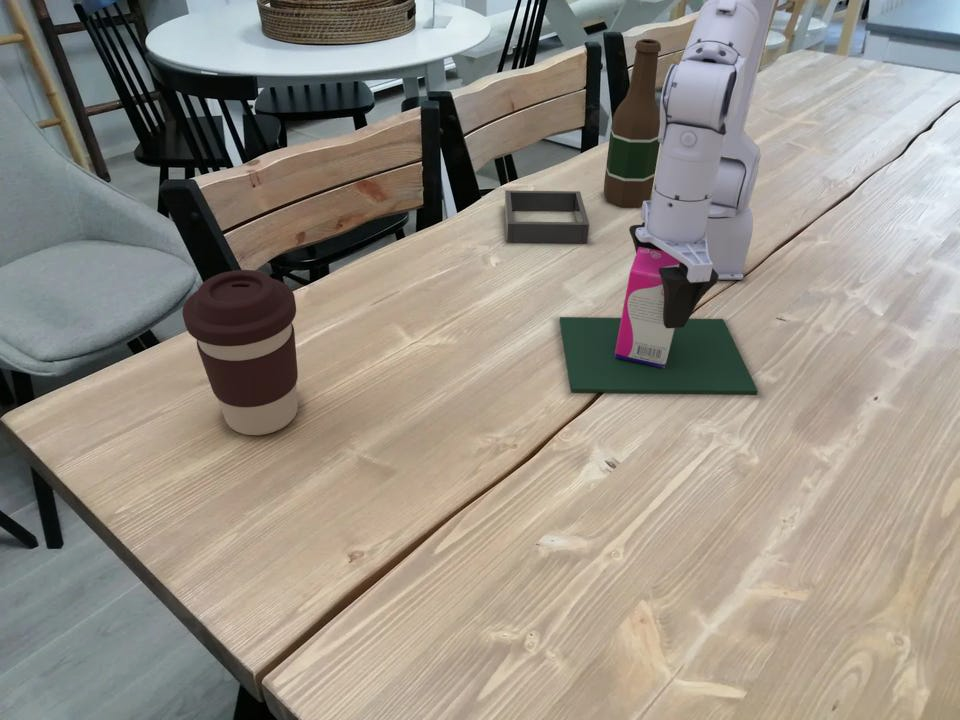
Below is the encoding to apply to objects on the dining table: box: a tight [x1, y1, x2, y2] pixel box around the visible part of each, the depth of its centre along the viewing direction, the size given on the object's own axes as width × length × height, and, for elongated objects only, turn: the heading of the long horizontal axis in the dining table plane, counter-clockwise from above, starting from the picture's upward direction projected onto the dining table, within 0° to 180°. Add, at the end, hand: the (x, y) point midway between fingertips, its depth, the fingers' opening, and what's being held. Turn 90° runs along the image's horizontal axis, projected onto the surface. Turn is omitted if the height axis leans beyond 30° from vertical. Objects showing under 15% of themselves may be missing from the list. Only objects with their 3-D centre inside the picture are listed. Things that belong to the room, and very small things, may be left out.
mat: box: [559, 316, 759, 395], centre depth 85 cm, size 20×14×1 cm
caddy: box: [504, 189, 590, 244], centre depth 110 cm, size 12×12×3 cm
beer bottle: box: [603, 38, 662, 208], centre depth 112 cm, size 8×8×24 cm
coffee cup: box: [181, 269, 299, 436], centre depth 71 cm, size 10×10×15 cm
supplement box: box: [615, 247, 682, 368], centre depth 81 cm, size 6×6×12 cm
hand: (661, 306), depth 81 cm, fingers closed on supplement box, 7 cm apart
